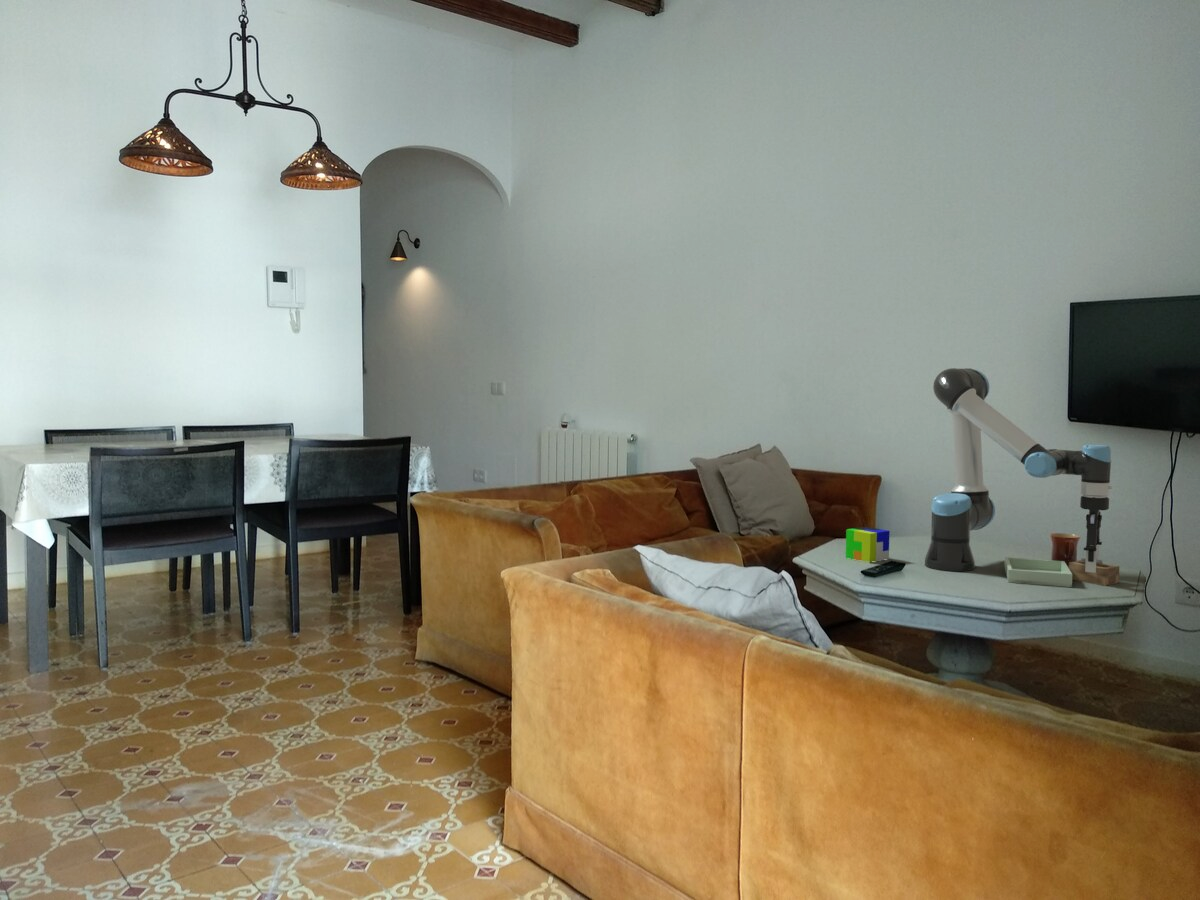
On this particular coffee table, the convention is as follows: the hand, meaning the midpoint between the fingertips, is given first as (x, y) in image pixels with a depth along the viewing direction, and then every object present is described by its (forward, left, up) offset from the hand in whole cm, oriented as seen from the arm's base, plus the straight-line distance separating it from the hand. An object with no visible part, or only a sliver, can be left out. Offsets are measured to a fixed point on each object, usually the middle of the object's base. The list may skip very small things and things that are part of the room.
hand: (1091, 568), depth 263 cm
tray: (-15, -2, -3) cm, 16 cm away
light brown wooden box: (0, 0, -3) cm, 4 cm away
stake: (0, 0, -3) cm, 3 cm away
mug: (-5, +18, -4) cm, 19 cm away
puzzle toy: (-66, +8, -4) cm, 67 cm away
